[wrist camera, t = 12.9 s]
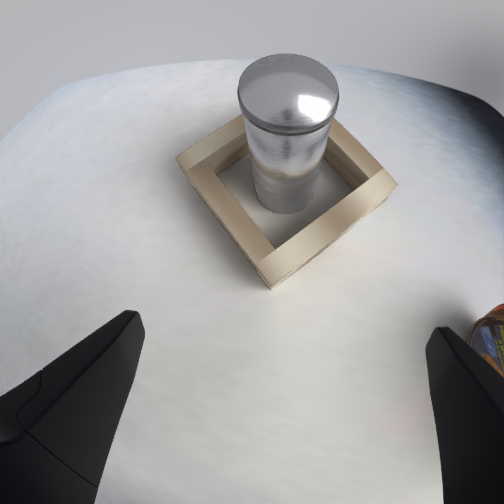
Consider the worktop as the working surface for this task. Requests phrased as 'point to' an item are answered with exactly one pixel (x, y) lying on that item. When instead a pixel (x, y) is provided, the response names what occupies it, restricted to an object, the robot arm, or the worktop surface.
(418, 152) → the worktop surface
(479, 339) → the tin
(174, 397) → the worktop surface
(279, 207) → the silver metal canister
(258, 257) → the collar
